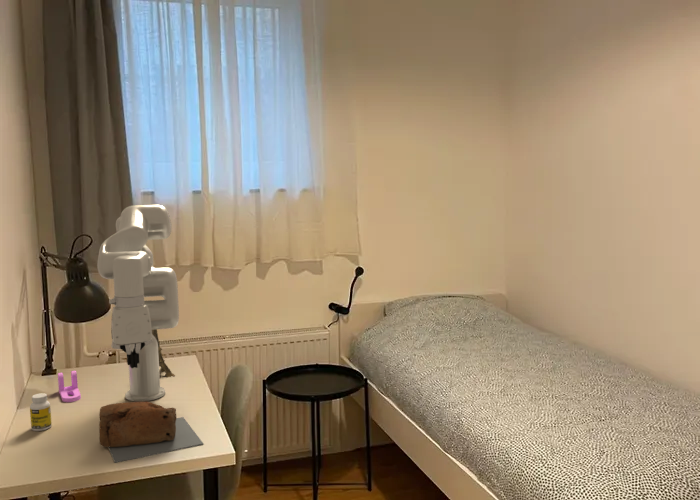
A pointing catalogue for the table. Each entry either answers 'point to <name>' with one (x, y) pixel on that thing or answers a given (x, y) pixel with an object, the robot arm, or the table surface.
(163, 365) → the eiffel tower
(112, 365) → the table surface
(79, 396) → the bracket
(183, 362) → the table surface
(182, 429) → the mat
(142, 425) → the block
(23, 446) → the table surface
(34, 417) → the supplement bottle
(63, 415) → the table surface
